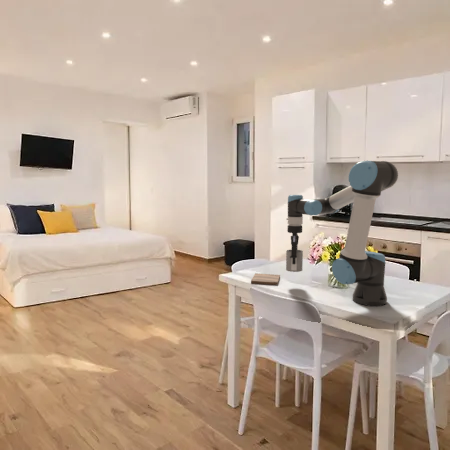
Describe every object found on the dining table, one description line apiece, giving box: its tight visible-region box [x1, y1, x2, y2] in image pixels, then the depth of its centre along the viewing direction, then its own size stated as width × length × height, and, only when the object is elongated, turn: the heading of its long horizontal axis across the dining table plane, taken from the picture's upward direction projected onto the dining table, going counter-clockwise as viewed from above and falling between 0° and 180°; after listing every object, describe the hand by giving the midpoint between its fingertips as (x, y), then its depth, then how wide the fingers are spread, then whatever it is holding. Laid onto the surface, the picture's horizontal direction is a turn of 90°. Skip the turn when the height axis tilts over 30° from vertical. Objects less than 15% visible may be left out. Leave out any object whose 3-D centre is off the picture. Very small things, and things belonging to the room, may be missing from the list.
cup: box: [285, 249, 304, 273], centre depth 221 cm, size 8×8×10 cm
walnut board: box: [250, 272, 281, 286], centre depth 233 cm, size 16×14×2 cm
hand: (294, 268), depth 221 cm, fingers closed on cup, 8 cm apart
